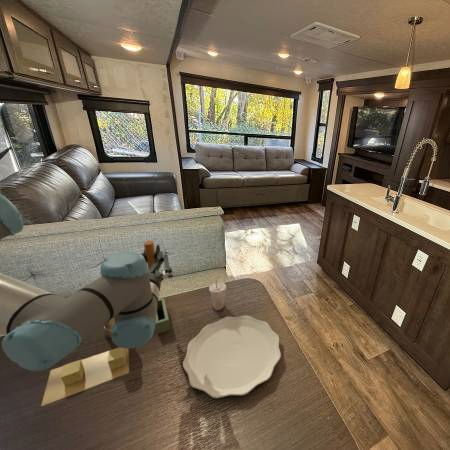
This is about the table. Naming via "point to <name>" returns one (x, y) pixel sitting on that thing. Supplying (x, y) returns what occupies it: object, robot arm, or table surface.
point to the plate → (232, 356)
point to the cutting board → (92, 376)
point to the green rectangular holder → (163, 324)
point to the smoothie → (218, 294)
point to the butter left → (72, 372)
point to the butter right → (116, 358)
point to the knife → (149, 253)
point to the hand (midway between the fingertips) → (152, 249)
